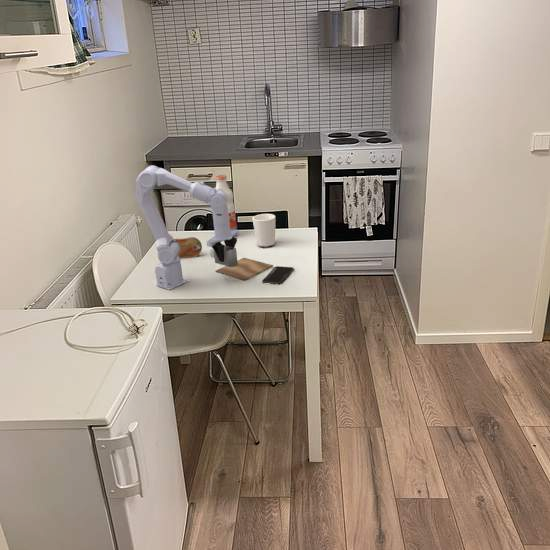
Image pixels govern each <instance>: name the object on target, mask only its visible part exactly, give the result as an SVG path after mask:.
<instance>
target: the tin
mask: <svg viewBox="0 0 550 550" xmlns="http://www.w3.org/2000/svg"><path fill="white" fill-rule="evenodd" d="M173 239H174V240H175V241H176V242H177V243H178V244H179V246H180V252H179V253H178V256H179V257H180V260H181V259H190V258H196V257H198V256H200V254H201V253H202V250H203V249H202V248H203V245H202V242H201V241H200V240H199V239H198V238H197V237H193V236H191V237H183V238H182V237H180V238H173Z"/></svg>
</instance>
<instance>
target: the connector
mask: <svg viewBox="0 0 550 550" xmlns="http://www.w3.org/2000/svg"><path fill="white" fill-rule="evenodd" d="M209 251H210V257H211V258H213V259H214V263H215V264H218V265H221V266H223V267H225V266H228V267H235V266H237V265H238V252H237V248H236V247H234V248H233V247H229V246H224V261H223V262H221V261H219V260H218V257H217V255H216V253H215V251H214V249H213V248H211V249H210V250H209Z"/></svg>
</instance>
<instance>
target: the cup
mask: <svg viewBox="0 0 550 550" xmlns="http://www.w3.org/2000/svg"><path fill="white" fill-rule="evenodd" d="M276 219H277V218H276V215H275V214H273V213H261V214H257V215H254V216H252V223H253V224H252V225H253V230H254V235H255V239H256V244H257V246H258V247H259V248H266V249H268V248H269V247H274V245H275V243H276Z"/></svg>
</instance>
